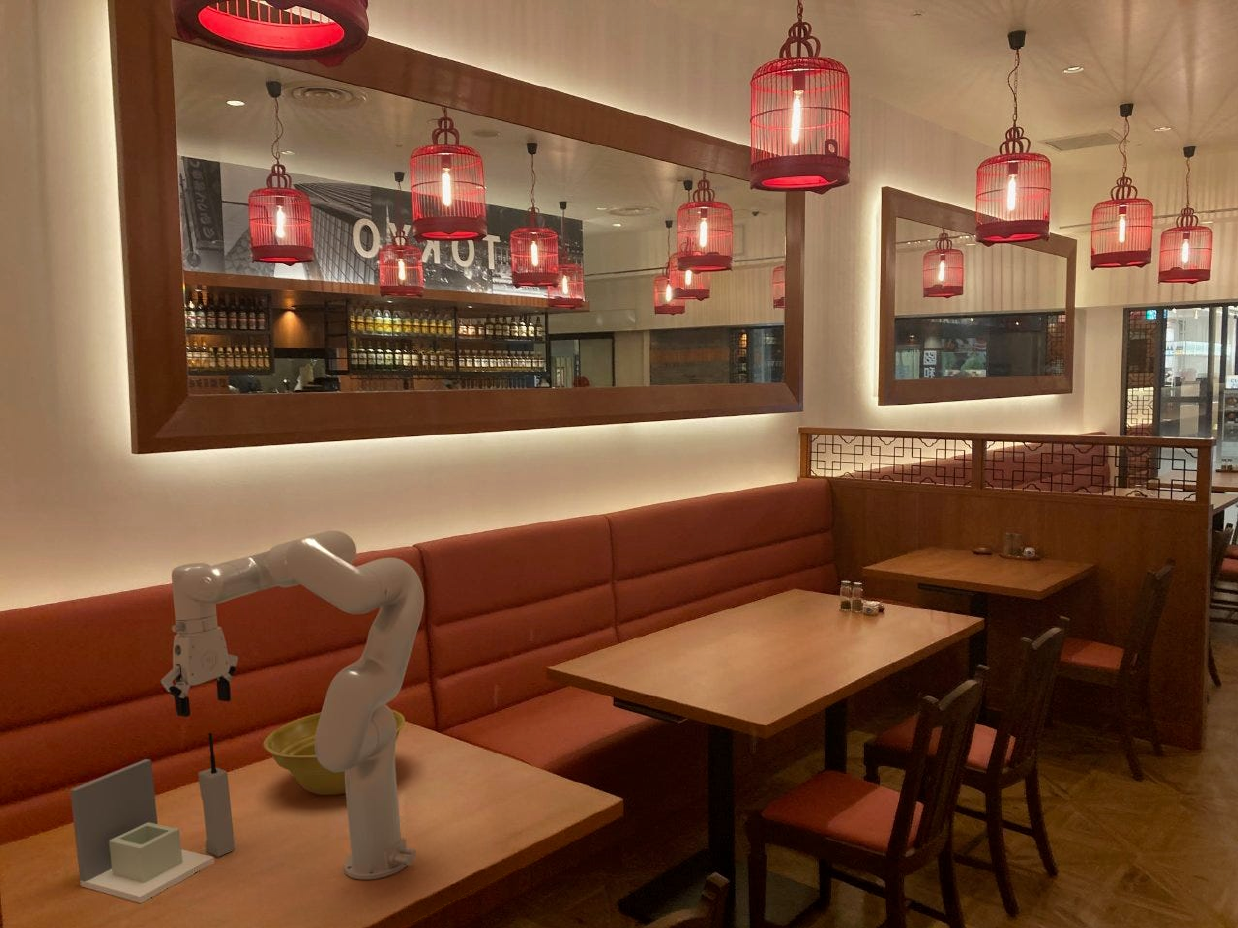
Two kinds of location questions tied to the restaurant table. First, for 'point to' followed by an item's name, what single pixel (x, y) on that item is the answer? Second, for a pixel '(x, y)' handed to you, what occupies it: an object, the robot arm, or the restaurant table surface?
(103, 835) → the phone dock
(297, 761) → the planter bowl
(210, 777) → the vintage mobile phone
